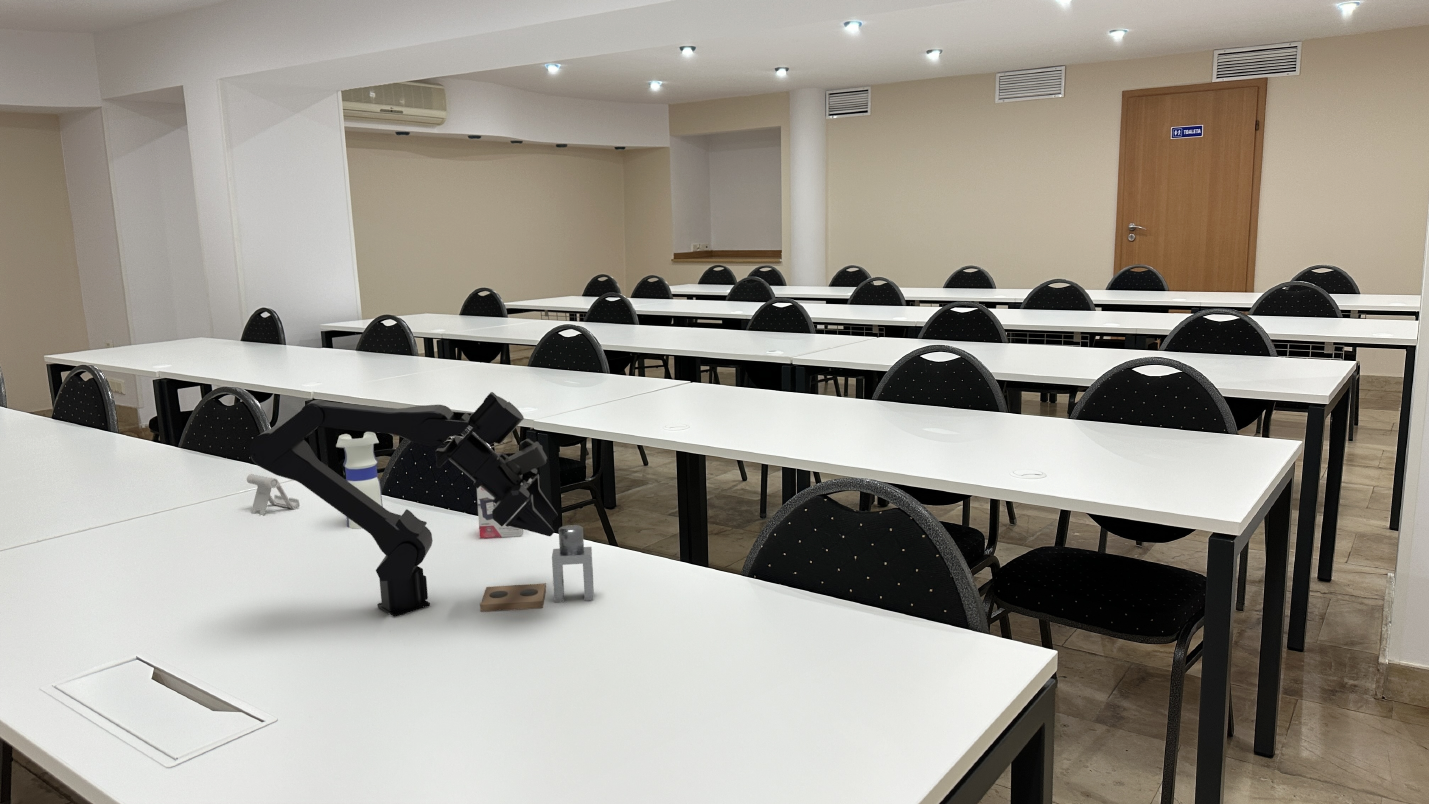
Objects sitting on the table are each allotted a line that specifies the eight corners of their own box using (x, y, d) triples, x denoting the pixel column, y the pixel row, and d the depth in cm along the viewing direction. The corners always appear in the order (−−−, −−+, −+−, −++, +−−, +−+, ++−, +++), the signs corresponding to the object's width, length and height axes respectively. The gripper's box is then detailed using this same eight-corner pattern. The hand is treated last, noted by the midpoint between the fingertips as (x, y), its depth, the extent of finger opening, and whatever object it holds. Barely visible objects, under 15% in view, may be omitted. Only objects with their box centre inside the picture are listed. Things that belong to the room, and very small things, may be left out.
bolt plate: (480, 611, 157) (479, 604, 157) (487, 593, 165) (486, 586, 164) (542, 607, 158) (542, 600, 158) (546, 589, 166) (545, 582, 165)
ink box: (479, 539, 194) (475, 482, 192) (481, 531, 199) (477, 476, 197) (522, 536, 195) (518, 480, 193) (523, 529, 200) (520, 474, 198)
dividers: (554, 602, 160) (550, 533, 158) (555, 593, 164) (552, 526, 162) (593, 600, 161) (589, 531, 158) (593, 591, 164) (590, 523, 162)
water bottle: (342, 520, 209) (331, 407, 204) (383, 515, 212) (373, 403, 208) (345, 531, 201) (333, 414, 197) (388, 525, 205) (377, 409, 200)
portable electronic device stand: (300, 508, 220) (296, 472, 218) (268, 517, 213) (264, 480, 212) (277, 503, 224) (273, 468, 223) (245, 512, 218) (241, 476, 216)
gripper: (508, 440, 147) (585, 506, 150) (520, 417, 165) (588, 476, 168) (460, 493, 148) (537, 557, 151) (477, 464, 166) (546, 522, 169)
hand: (554, 525), depth 160 cm, fingers open, 9 cm apart
